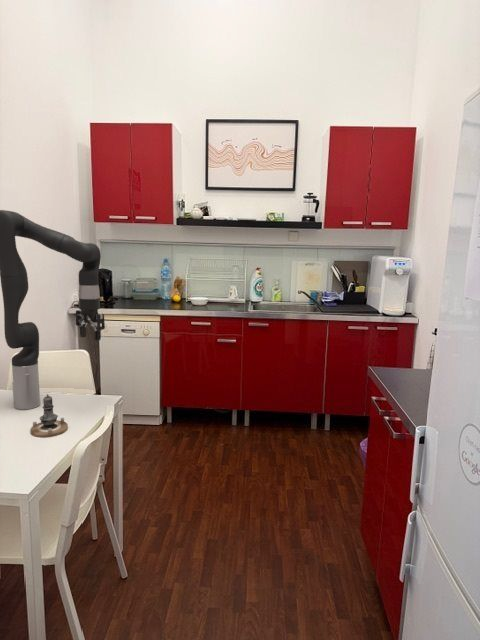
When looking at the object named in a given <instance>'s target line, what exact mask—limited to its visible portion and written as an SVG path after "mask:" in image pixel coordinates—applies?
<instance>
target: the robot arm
mask: <svg viewBox="0 0 480 640" xmlns="http://www.w3.org/2000/svg"><path fill="white" fill-rule="evenodd" d="M16 237H20V238H25V239H28V240H32V241H35V242H37V243H39V244H40V245H42V246H43V247H46V248H48V249H50V250H52V251H55V252H58V253H61V254H63V255H66V256H67V257H69V258H72V260H75V261H78V262H80V263H82V268H81V269H80V270H79V271H78V293H77V294H78V310H75V326H78V328H79V336H80V338H87V327H86V326H87V324H89V325H90V326H91V327H92V328H93V330H94V341H96V342H97V341H101V338H102V333H101V331H103V330H105V329H106V326H105V323H106V322H105V314H104V313H99V310H100V309H101V308H100V307H101V303H100V302H101V300H100V299H101V298H100V286H99V272H100V266H101V259H102V258H101V257H102V254H101V249H100V248H99V246H98V245H97V244H96V243H91V242H83V241H82V242H81V241H79V240H76V239H75V238H74V237H73V236H70V235H69V234H66V233H63V232H60V231H57V230H55V229H51V228H48V227H46V226H43V225H41V224H39V223H36V222H34V221H32V220H30V219H29V218H27V217H26V216H24V215H22V214H20V213H19V212H15V211H12V210H5V209H0V287H1V293H2V301H3V316H4V317H3V320H4V323H3V326H4V339H5V342H6V344H7V346H8V347H9V348H10V349H13V350H14V349H21V350H20V351H19V352H17V353H16V354H15V355H13V356H12V357H11V370H12V371H11V372H12V382H11V383H12V394H13V395H12V396H13V397H12V398H13V406H14V409H16V410H31V409H35V408H38V407H39V406H40V405H41V397H40V396H41V395H40V393H41V392H40V377H39V376H40V375H39V374H40V373H39V356H40V333H39V332H40V331H39V328H38V327H37V325H36V324H35V323H34V322H32V321H27V322H19V314H20V309H21V307H22V304H23V303H24V301H25V299H26V296H27V295H28V291H29V280H28V279H29V278H28V277H29V276H28V272H27V268H26V266H25V264H24V261H23V260H22V258H21V256H20V254H19V251H18V248H17V243H16V242H17V241H16Z"/></svg>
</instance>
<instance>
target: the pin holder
mask: <svg viewBox="0 0 480 640" xmlns="http://www.w3.org/2000/svg"><path fill="white" fill-rule="evenodd" d="M55 424H57V427H56V428H55V429H52V428H49V429H48V430H43V429H41V426H43V424H42V423H41V422H38V423H37V421H33V422H32V426H31V428H30V435H32V436H33V437H36V438H52V437H56V436H60V435H62V434H65V432H66V431H68V429H69V426H68V423H67V422H66V421H65V418H64V417H61V418H60V420H58V419H57V420H56V422H55Z"/></svg>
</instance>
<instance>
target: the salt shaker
mask: <svg viewBox="0 0 480 640" xmlns="http://www.w3.org/2000/svg"><path fill="white" fill-rule="evenodd" d="M54 407H55V406H54V405H53V397H52V396H50V395H49V393H46V395H45V396H44V397H43V406H42V409H43V415H41V416H40V417H39V420H40V423H42V424H43V426H41V429H43V430H48V429H49V428H52V429H55V428H56V427H57V424H55V422H56V420H58V417H59V415H57V414H56V413H54Z"/></svg>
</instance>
